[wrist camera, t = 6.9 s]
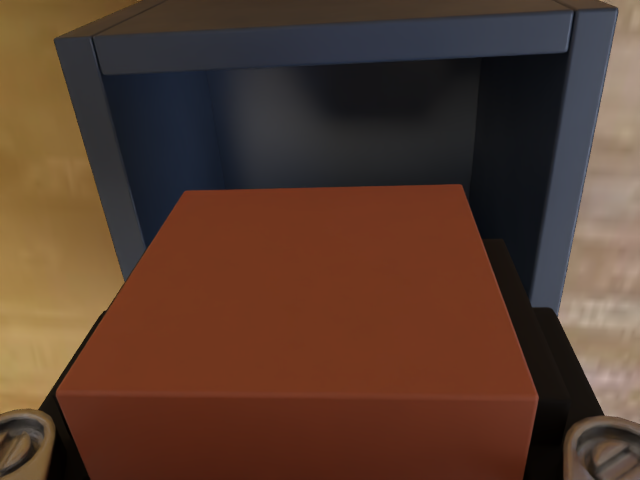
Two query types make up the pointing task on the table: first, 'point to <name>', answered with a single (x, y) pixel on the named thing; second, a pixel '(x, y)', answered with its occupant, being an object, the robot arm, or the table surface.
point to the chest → (347, 108)
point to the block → (306, 345)
